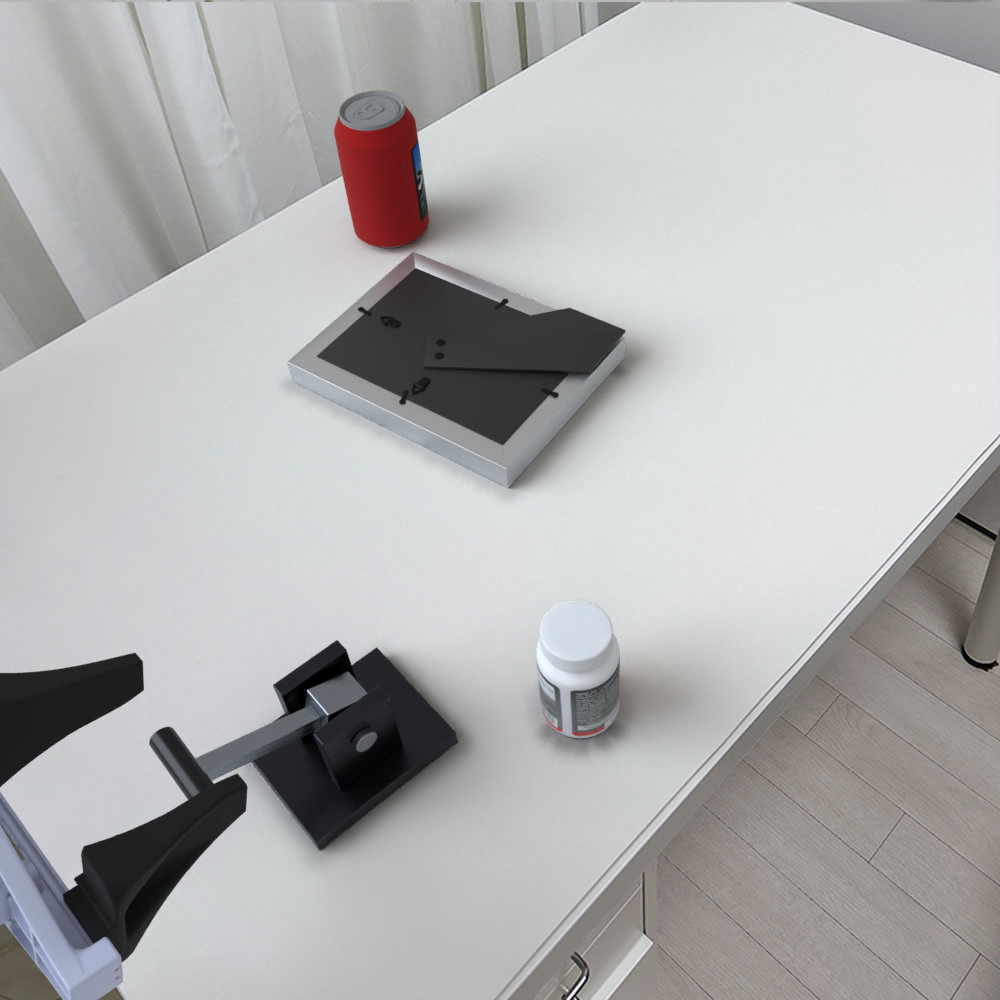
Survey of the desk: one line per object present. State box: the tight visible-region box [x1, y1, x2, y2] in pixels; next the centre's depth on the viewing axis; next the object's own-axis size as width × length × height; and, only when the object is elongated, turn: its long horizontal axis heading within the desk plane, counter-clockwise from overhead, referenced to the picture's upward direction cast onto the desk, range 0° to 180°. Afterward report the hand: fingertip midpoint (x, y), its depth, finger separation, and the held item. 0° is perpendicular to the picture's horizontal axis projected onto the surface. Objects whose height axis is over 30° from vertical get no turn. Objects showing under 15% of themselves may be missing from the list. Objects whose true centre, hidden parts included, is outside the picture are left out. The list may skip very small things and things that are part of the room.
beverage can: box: [333, 90, 430, 249], centre depth 93 cm, size 7×7×12 cm
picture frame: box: [286, 251, 626, 489], centre depth 85 cm, size 16×3×21 cm
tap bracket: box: [251, 639, 459, 852], centre depth 63 cm, size 10×8×7 cm
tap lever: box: [148, 671, 367, 800], centre depth 59 cm, size 11×6×2 cm, turn 130°
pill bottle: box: [535, 599, 621, 739], centre depth 63 cm, size 5×5×8 cm
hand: (188, 729), depth 46 cm, fingers open, 7 cm apart
